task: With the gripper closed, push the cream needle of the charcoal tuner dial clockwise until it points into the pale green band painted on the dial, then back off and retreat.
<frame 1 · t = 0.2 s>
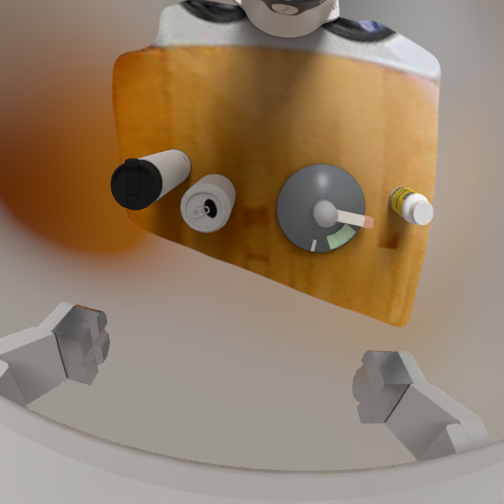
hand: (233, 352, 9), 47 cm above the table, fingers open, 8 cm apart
can: (215, 193, 55), on the table
supplement bottle: (400, 199, 54), on the table
needle: (343, 216, 52), point 3 cm above the table, hinge at 0.0°
dial plate: (321, 208, 55), on the table
travel mug: (174, 165, 53), on the table
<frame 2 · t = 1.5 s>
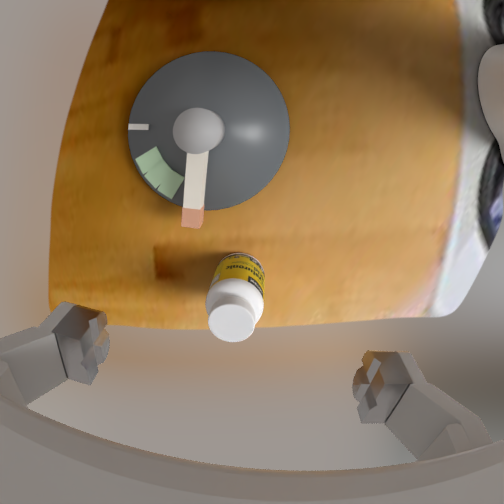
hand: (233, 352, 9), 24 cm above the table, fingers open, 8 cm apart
supplement bottle: (240, 272, 35), on the table
needle: (196, 167, 27), point 3 cm above the table, hinge at 0.0°
dial plate: (207, 130, 29), on the table
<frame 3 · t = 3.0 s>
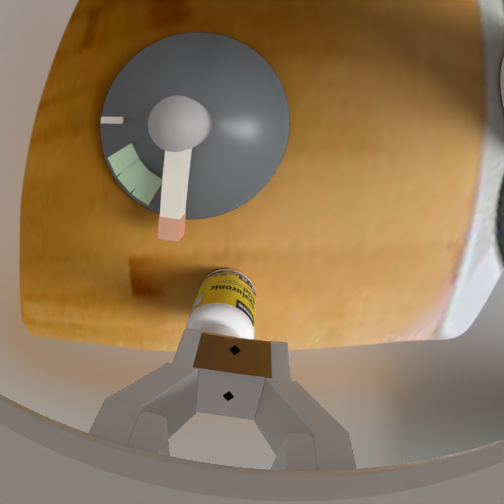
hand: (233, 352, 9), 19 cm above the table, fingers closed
supplement bottle: (228, 291, 30), on the table
needle: (176, 168, 23), point 3 cm above the table, hinge at 0.0°
dial plate: (191, 124, 24), on the table
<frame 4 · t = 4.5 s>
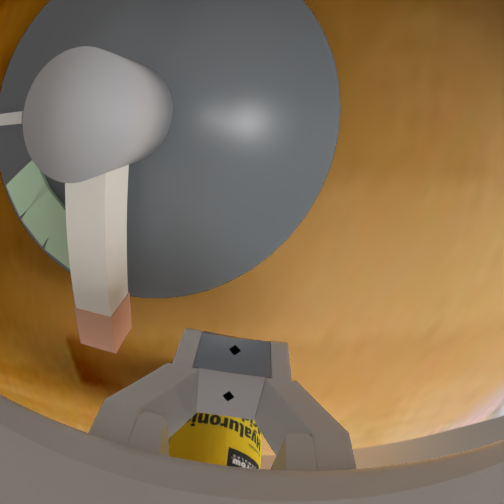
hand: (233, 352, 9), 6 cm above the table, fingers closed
supplement bottle: (218, 392, 18), on the table
needle: (95, 213, 10), point 3 cm above the table, hinge at 0.0°
dial plate: (138, 114, 12), on the table
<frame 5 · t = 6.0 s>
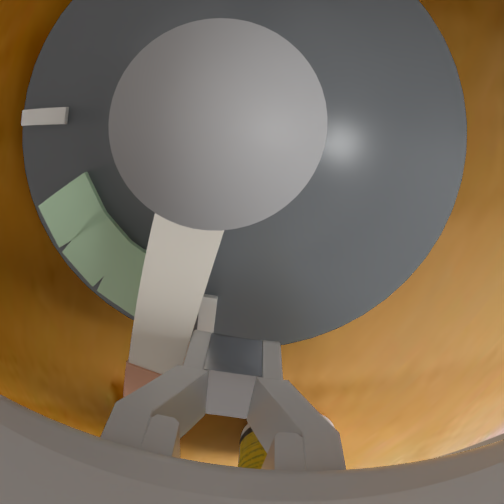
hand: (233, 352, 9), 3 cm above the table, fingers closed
supplement bottle: (287, 430, 16), on the table
needle: (183, 255, 8), point 3 cm above the table, hinge at -10.0°, touching gripper
dial plate: (235, 125, 10), on the table
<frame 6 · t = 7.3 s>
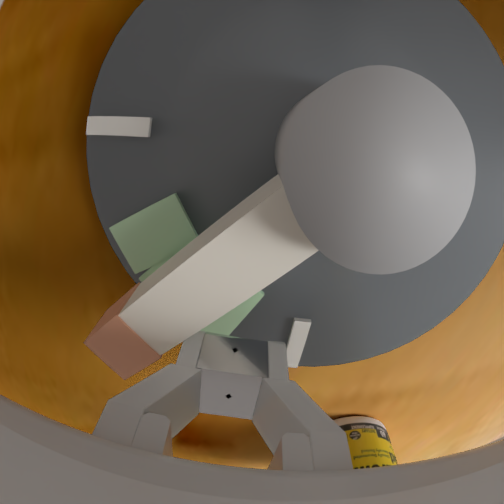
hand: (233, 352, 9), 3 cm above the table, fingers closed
supplement bottle: (341, 436, 16), on the table
needle: (246, 246, 8), point 3 cm above the table, hinge at -43.1°, touching gripper
dial plate: (332, 151, 10), on the table
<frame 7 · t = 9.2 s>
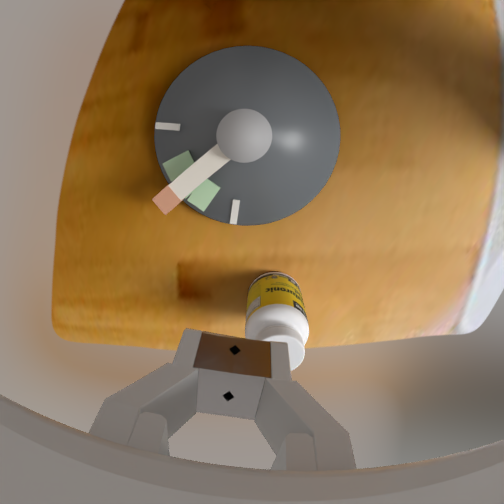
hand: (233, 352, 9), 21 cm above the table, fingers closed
supplement bottle: (274, 292, 32), on the table
needle: (210, 162, 24), point 3 cm above the table, hinge at -43.1°
dial plate: (246, 134, 26), on the table
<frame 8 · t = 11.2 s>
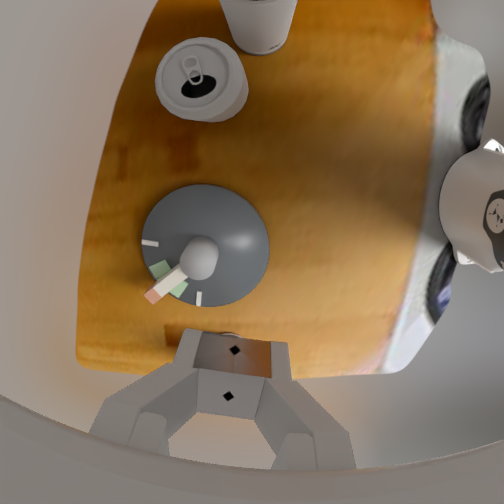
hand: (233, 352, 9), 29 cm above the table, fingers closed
can: (216, 91, 32), on the table
needle: (179, 273, 37), point 3 cm above the table, hinge at -43.1°
dial plate: (204, 247, 39), on the table
travel mug: (261, 32, 29), on the table
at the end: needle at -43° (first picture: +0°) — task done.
